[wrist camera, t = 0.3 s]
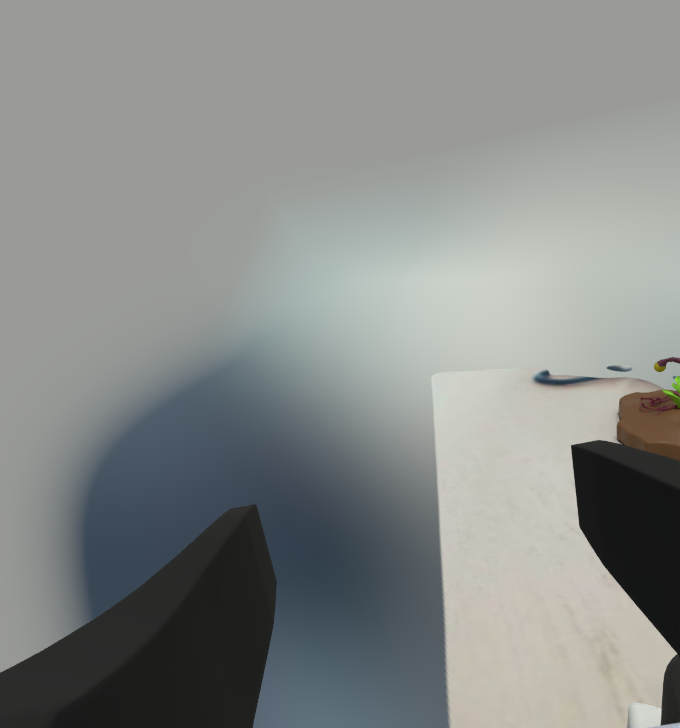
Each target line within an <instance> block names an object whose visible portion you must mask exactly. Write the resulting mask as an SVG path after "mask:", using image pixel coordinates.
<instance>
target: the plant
mask: <svg viewBox="0 0 680 728" xmlns="http://www.w3.org/2000/svg"><path fill="white" fill-rule="evenodd" d="M669 361H670V362H672V361H674V362H677V363H680V358H675V357H674V358H673V357H672V358H668V359H664V360H660V361H658V362H657V363H655V365H654V369H655V370H656V371H658V372H662V371H664V370H665V368H666V363H667V362H669ZM675 381H676V383H677V385H676V384H674V383H672V386H673V387H674V388H675V389H676V390H677V391H672V390H659V391H654V392H649V393H639V392H636V393H632V394H628V395H626V396H623V397H622V398H621V399H620V401H619V417H620V419H621V420H620V421H619V422H618V424H617V439H618V440H620V441H621V442H623V444H624V445H625V446H629V447H633V448H637V449H640V450H644V451H647V452H651V453H655V454H658V455H662V456H665V457H669V458H672V459H676V460H680V377H679V376H677V377H676V378H675Z"/></svg>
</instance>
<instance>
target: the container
mask: <svg viewBox="0 0 680 728" xmlns="http://www.w3.org/2000/svg"><path fill="white" fill-rule="evenodd" d="M674 723H680V656H679V655H678V654H677V655H676V656H675V657H674V658H673V659H672V660H671V661H670V663H669V664H668V666H667V668H666V671H665V674H664V682H663V696H662V708H660V707H655V706H651V705H646V704H642V703H635V702H633V703H632V704H630V706H629V709H628V724H627V728H649V727H655V726H661V725H668V724H674Z"/></svg>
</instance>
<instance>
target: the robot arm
mask: <svg viewBox="0 0 680 728" xmlns="http://www.w3.org/2000/svg"><path fill="white" fill-rule="evenodd" d="M571 449H572V459H573V469H574V478H575V488H576V497H577V507H578V516H579V526H580V528H581V530H582V532H583V533H584V535H585V537H586V538H587V540H588V542H589V543H590V545H591V547H592V548H593V550H594V551H595V553H596V554H597V556H598V557H599V559H600V560H601V562H602V564H603V565H604V566H605V568H606V569H607V570H608V571H609V572H610V574H611V575H612V576H613V577H614V579H615V580H616V581H617V582H618V583H619V585H620V586H621V587H622V588H623V589H624V591H625V592H626V593H627V594H628V595H629V597H630V598H631V599H632V600H633V601H634V603H635V604H636V605H637V606H638V607H639V609H640V610H641V611H642V612H643V613H644V614H645V616H646V617H647V618H648V619H649V620H650V622H651V623H652V624H653V625H654V626H655V628H656V629H657V630H658V631H659V632H660V633H661V635H662V636H663V637H664V638H665V639H666V641H667V642H668V643H669V644H670V645H671V647H672V648H673V649H674V650H675V651H676V652H677V654H678V655H679V656H680V460H676V459H672V458H669V457H665V456H662V455H658V454H655V453H651V452H647V451H644V450H640V449H637V448H633V447H629V446H625V445H621V444H617V443H613V442H608V441H601V440H597V441H592V442H586V443H581V444H576V445H571ZM276 582H277V581H276V577H275V574H274V570H273V566H272V562H271V558H270V555H269V551H268V547H267V543H266V540H265V536H264V532H263V528H262V525H261V521H260V517H259V513H258V509H257V505H256V504H255V505H250V506H244V507H239V508H233V509H230V510H228V511H227V512H225V513H224V514H223V515H222V516H221V517H219V518H218V519H217V520H216V521H215V522H214V523H213V524H211V525H210V526H209V527H208V528H207V529H206V530H205V531H204V532H203V533H202V534H200V535H199V536H198V537H197V538H196V539H195V540H194V541H193V542H192V543H191V544H189V545H188V546H187V547H186V548H185V549H184V550H183V551H182V552H181V553H180V554H178V555H177V556H176V557H175V558H174V559H173V560H171V561H170V562H169V563H168V564H167V565H165V566H164V567H163V568H162V569H161V570H159V571H158V572H157V573H156V574H155V575H154V576H152V577H151V578H150V579H149V580H147V582H145V583H144V584H143V585H141V586H140V587H139V588H137V589H136V590H135V591H134V592H132V593H131V594H130V595H128V596H127V597H126V598H124V599H123V600H121V601H120V602H119V603H117V604H116V605H114V606H113V607H111V608H110V609H109V610H107V611H106V612H104V613H103V614H101V615H100V616H98V617H97V618H95V619H94V620H92V621H91V622H89V623H87V624H86V625H84V626H82V627H81V628H79V629H78V630H76V631H74V632H73V633H71V634H69V635H68V636H66V637H64V638H63V639H61V640H59V641H58V642H56V643H54V644H53V645H51V646H49V647H48V648H46V649H44V650H43V651H41V652H39V653H37V654H35V655H33V656H32V657H30V658H28V659H26V660H24V661H22V662H20V663H18V664H17V665H15V666H13V667H11V668H9V669H7V670H5V671H3V672H1V673H0V728H253V722H254V717H255V713H256V708H257V703H258V698H259V693H260V689H261V683H262V679H263V674H264V669H265V664H266V660H267V655H268V650H269V644H270V639H271V635H272V629H273V624H274V613H275V600H276ZM649 728H680V723H674V724H668V725H661V726H655V727H649Z"/></svg>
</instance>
